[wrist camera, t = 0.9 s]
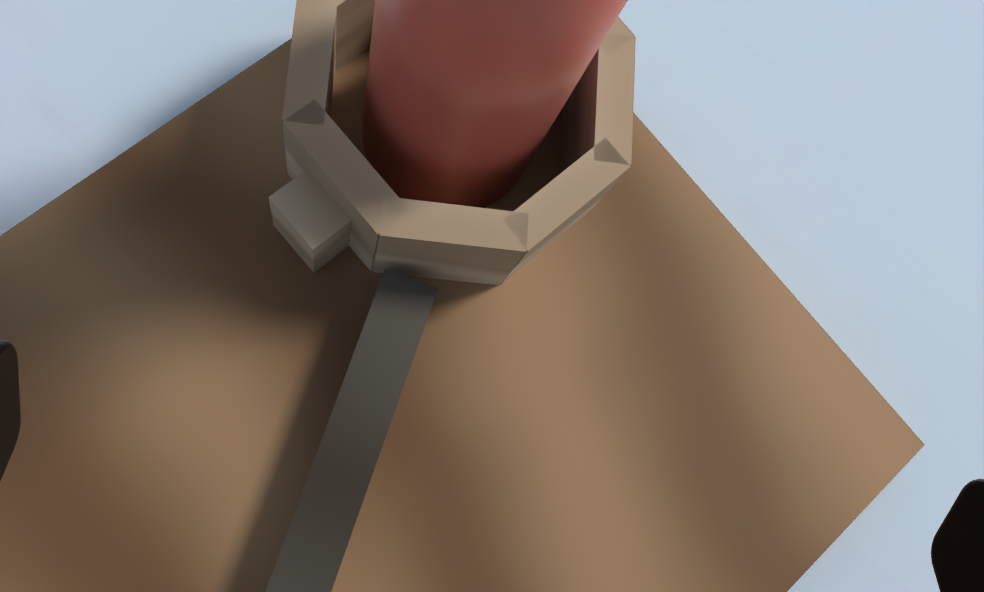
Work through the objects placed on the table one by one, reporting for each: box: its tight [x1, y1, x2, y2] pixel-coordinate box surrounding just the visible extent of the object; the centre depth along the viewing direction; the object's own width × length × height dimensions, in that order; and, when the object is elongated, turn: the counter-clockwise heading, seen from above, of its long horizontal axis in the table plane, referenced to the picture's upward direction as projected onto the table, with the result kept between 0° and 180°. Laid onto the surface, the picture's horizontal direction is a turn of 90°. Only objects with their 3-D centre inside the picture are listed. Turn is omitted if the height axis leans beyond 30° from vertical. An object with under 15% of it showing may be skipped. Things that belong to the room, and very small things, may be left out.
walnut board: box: [0, 0, 924, 592], centre depth 19 cm, size 20×17×4 cm
